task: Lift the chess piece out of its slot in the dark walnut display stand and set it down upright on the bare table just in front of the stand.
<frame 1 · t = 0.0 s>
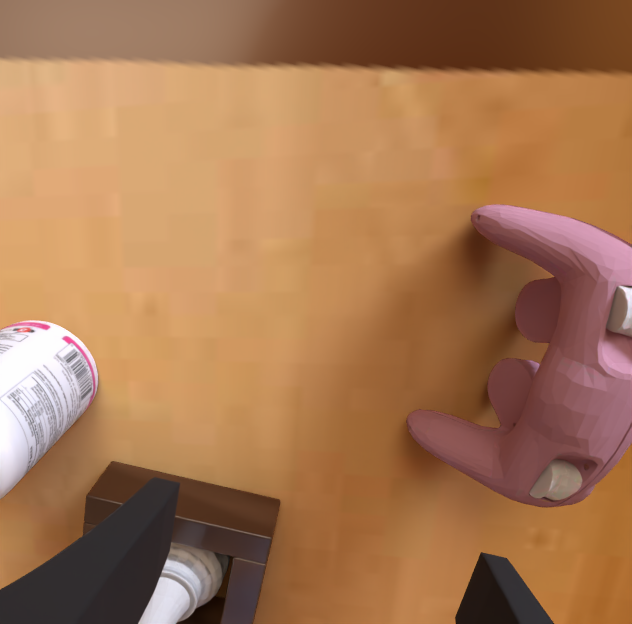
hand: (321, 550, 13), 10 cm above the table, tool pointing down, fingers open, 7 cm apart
chess piece: (186, 544, 26), resting in stand
pill bottle: (49, 368, 24), on the table
video game controller: (506, 332, 22), on the table
stand: (177, 597, 27), on the table
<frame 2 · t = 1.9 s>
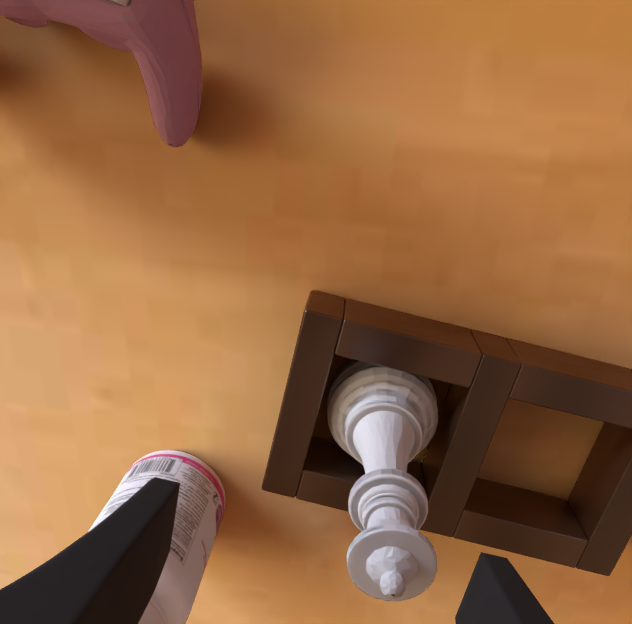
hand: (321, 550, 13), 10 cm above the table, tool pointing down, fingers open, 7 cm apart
chess piece: (381, 397, 23), resting in stand
pill bottle: (178, 489, 25), on the table
video game controller: (81, 30, 19), on the table
stand: (456, 418, 23), on the table
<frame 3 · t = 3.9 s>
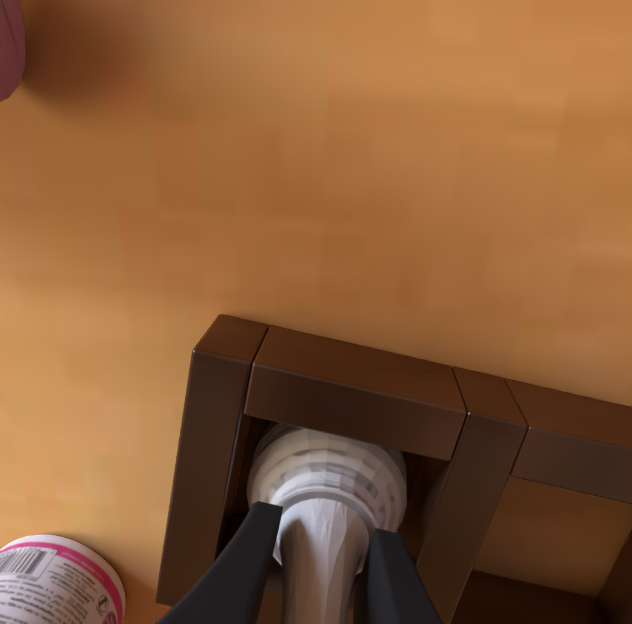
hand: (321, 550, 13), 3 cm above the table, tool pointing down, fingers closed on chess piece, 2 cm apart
chess piece: (329, 461, 16), resting in stand, touching gripper
pill bottle: (64, 582, 19), on the table
stand: (436, 489, 16), on the table
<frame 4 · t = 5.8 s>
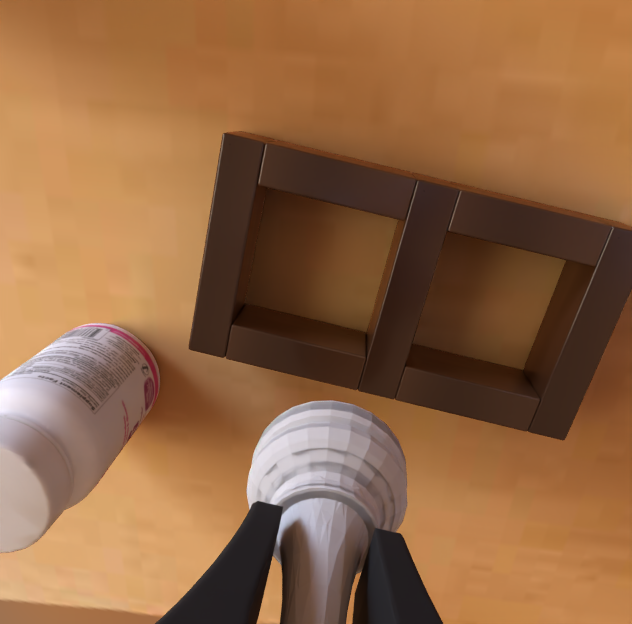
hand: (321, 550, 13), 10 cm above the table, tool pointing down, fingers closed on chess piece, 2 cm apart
chess piece: (329, 461, 16), point 7 cm above the table, touching gripper
pill bottle: (111, 370, 24), on the table
stand: (400, 277, 21), on the table
when the fingers open (3 cm above the table, at t = 8.0 s): chess piece stays where it is, on the table.
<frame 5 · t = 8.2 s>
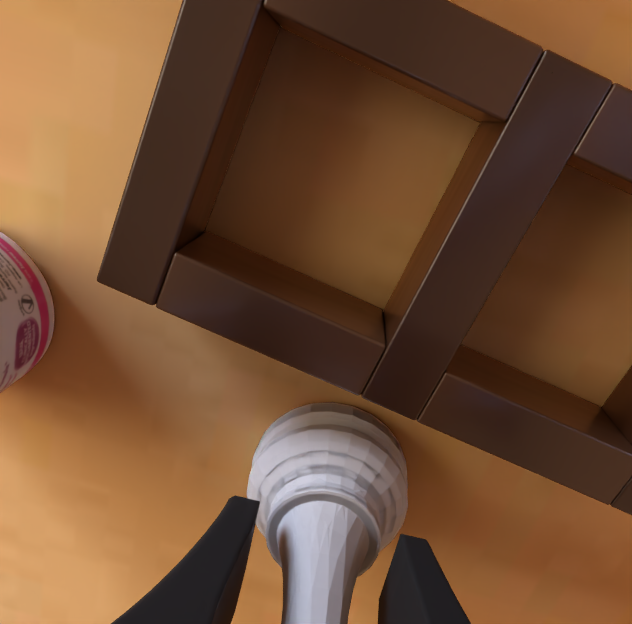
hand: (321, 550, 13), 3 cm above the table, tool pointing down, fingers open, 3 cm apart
chess piece: (330, 463, 16), on the table
stand: (454, 233, 14), on the table
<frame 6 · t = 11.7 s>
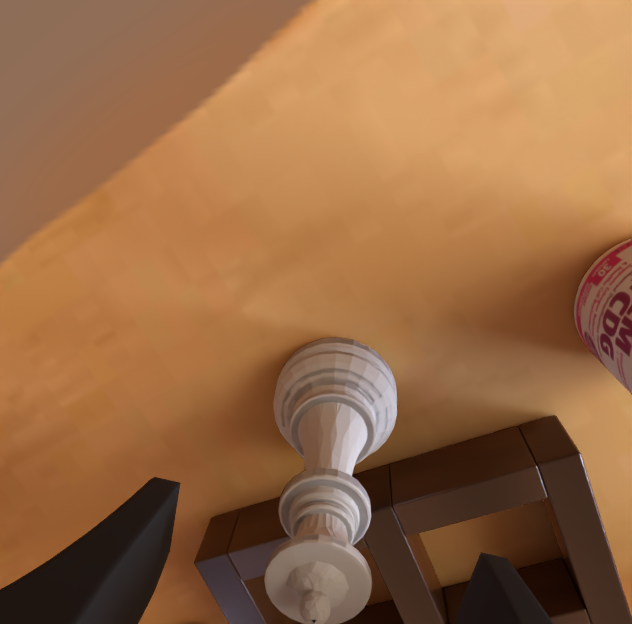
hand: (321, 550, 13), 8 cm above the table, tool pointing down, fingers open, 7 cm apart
chess piece: (336, 388, 21), on the table
stand: (405, 545, 23), on the table
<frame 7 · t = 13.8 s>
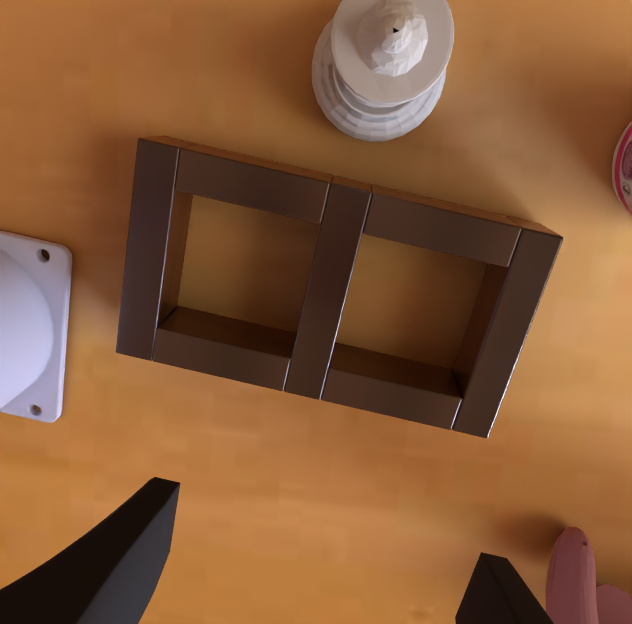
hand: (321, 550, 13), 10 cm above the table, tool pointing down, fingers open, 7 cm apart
chess piece: (376, 74, 19), on the table
stand: (328, 279, 22), on the table
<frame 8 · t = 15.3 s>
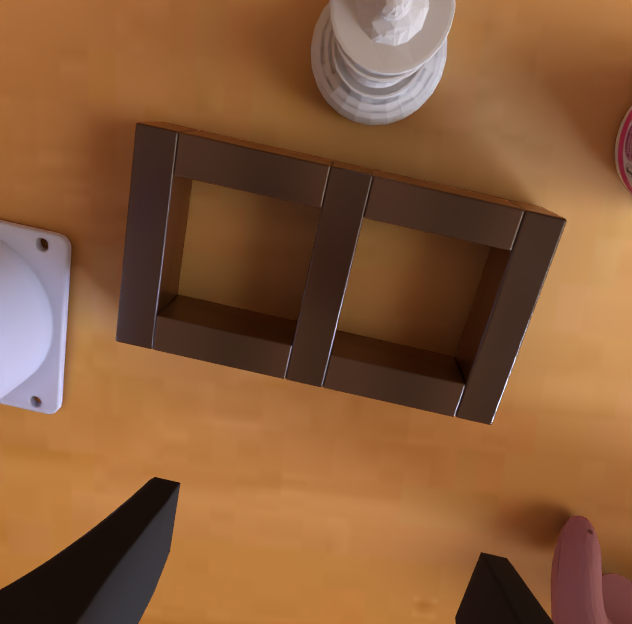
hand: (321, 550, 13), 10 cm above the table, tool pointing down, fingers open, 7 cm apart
chess piece: (376, 58, 19), on the table
stand: (329, 266, 21), on the table
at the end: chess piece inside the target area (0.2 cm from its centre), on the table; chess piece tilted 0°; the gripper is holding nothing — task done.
